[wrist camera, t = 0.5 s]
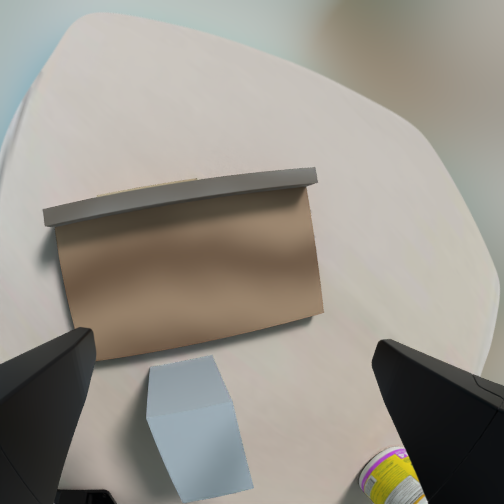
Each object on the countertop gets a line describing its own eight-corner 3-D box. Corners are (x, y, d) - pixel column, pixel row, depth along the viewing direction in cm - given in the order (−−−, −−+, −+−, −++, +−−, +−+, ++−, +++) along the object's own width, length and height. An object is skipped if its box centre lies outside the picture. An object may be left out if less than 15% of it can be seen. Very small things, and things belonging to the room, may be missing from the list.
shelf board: (316, 309, 23) (336, 318, 20) (88, 356, 19) (78, 373, 16) (296, 173, 23) (314, 165, 20) (58, 211, 18) (42, 206, 15)
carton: (211, 354, 22) (232, 401, 15) (230, 431, 22) (253, 488, 15) (147, 367, 20) (142, 418, 14) (172, 443, 21) (179, 503, 14)
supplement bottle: (411, 455, 28) (482, 507, 16) (371, 494, 27) (433, 554, 14) (391, 435, 27) (474, 495, 14) (346, 478, 26) (416, 551, 13)
